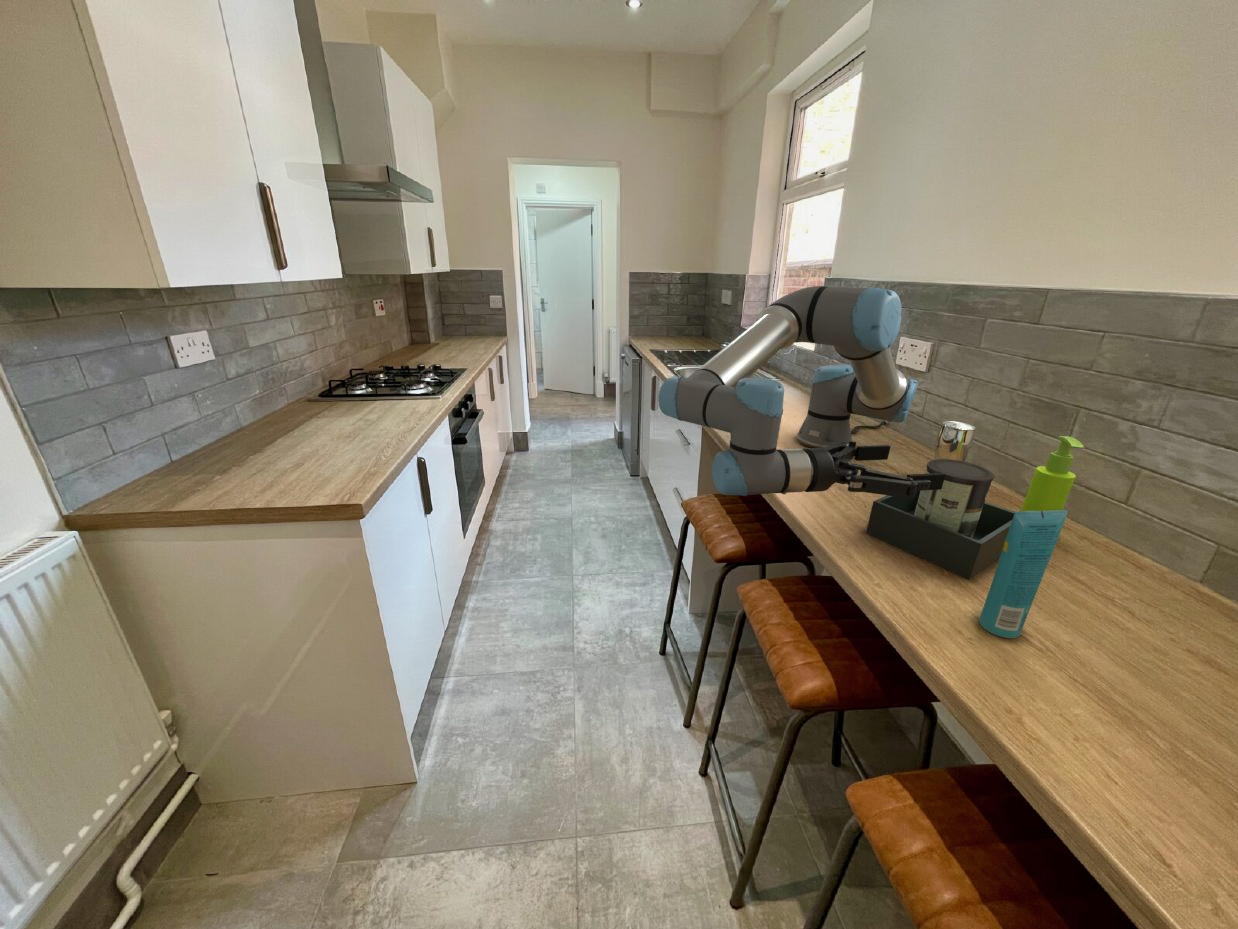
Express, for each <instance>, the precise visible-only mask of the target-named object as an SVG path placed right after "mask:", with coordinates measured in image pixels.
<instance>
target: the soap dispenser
mask: <svg viewBox="0 0 1238 929" xmlns="http://www.w3.org/2000/svg"><path fill="white" fill-rule="evenodd" d="M1058 440H1059V441H1060V444H1059V445H1058V446H1059V447H1058V449H1057V450H1055V451H1051V452H1050V453H1049V457H1048V458H1047V461H1046V463H1045V464H1046V465H1039V466H1037V467H1036V468H1035V470H1034V473H1033V476H1032V478H1031V482H1030V484H1029V487H1028V490H1027V492H1026V495H1025V498H1024V500H1023V503H1022V505H1021V508H1020V511H1058V510H1059V511H1062V510H1064V507H1065V504H1066V502H1067V499H1068V497H1069V495H1070V492H1071V490H1072V487H1073V485H1074V483H1075V480H1076V477H1077V476H1076V474H1075V473H1074V472H1072V471H1070V469H1071V466H1072V464H1073V461H1074V459H1075V456H1074V455H1072V454H1071V451H1072V449H1080V450H1083V449H1085V445H1084V444H1083V442H1081V441H1080V440H1078V439H1077V438H1076V437H1075V438H1074V437H1072V436H1064V435H1058Z"/></svg>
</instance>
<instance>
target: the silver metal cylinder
mask: <svg viewBox="0 0 1238 929" xmlns="http://www.w3.org/2000/svg"><path fill="white" fill-rule="evenodd" d="M975 431H976V426H974V425H973V424H970V423H966V422H961V421H954V420H945V421H943V422H942V424H941V427H940V428H939V432H938V435H937V438H936V441H935V447H934V457H933V458H934V459H951V460H958V461H964V462H965V460H966V458H967V457H968V454H969V452H970V450H971V447H972V445H973V441H974V436H975ZM934 459H933V460H934Z"/></svg>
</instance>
